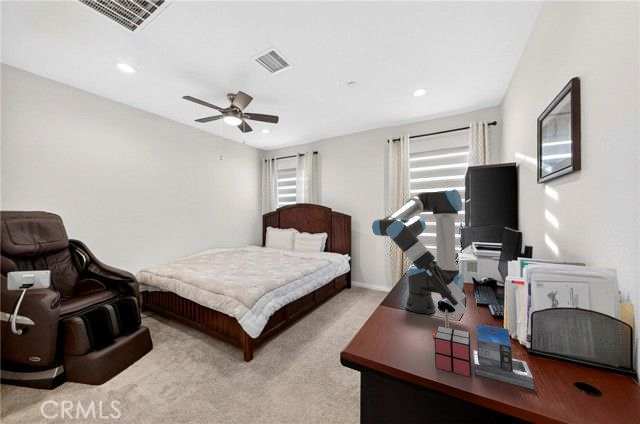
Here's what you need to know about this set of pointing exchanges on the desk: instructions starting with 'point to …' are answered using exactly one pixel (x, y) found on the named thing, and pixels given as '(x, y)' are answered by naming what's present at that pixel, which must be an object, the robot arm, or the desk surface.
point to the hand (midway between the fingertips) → (463, 305)
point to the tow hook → (445, 322)
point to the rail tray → (506, 372)
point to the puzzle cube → (453, 351)
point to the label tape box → (494, 347)
